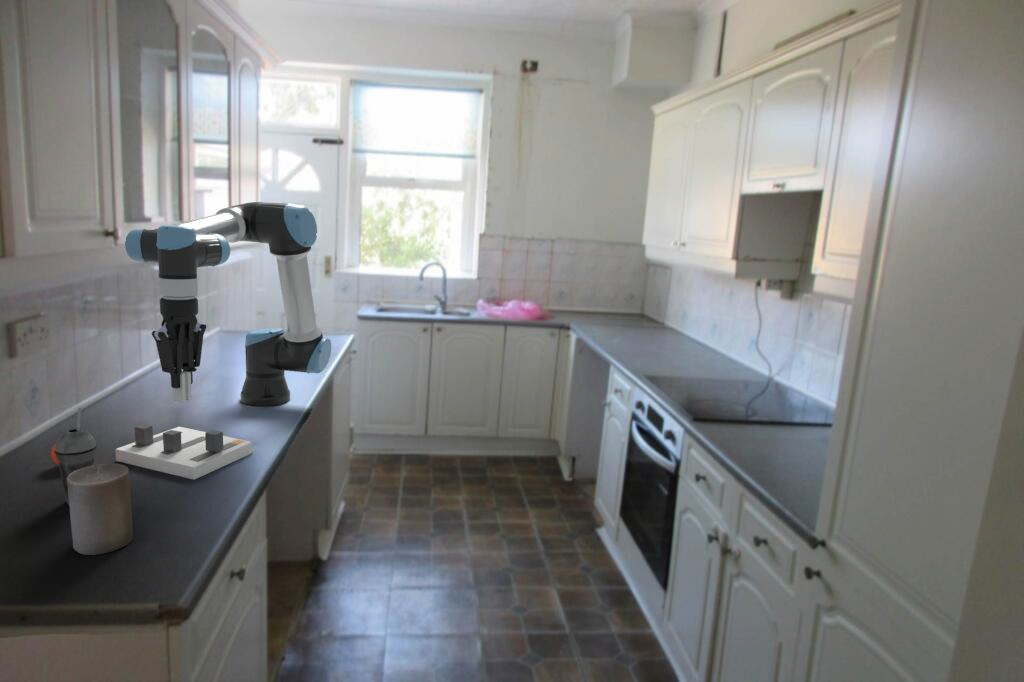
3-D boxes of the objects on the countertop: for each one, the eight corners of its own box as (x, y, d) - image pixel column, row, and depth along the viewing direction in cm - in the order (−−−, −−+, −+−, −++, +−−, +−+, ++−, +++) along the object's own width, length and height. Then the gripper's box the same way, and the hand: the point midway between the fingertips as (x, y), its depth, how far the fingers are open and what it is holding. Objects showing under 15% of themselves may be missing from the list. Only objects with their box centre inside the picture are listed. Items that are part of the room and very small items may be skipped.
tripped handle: (213, 447, 161) (213, 429, 160) (223, 449, 160) (222, 431, 159) (205, 450, 159) (205, 432, 158) (215, 452, 158) (215, 434, 157)
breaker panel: (179, 437, 176) (178, 410, 174) (252, 453, 168) (251, 424, 166) (116, 460, 158) (114, 430, 156) (194, 479, 150) (192, 448, 149)
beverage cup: (52, 500, 136) (45, 408, 132) (92, 490, 142) (86, 401, 138) (66, 511, 132) (59, 417, 128) (105, 500, 138) (100, 409, 134)
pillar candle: (142, 529, 127) (137, 456, 124) (120, 555, 118) (114, 476, 115) (87, 530, 126) (81, 456, 123) (61, 556, 116) (54, 477, 113)
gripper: (190, 292, 151) (194, 390, 156) (138, 298, 138) (143, 405, 143) (216, 295, 149) (219, 395, 153) (165, 302, 136) (170, 411, 140)
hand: (182, 400), depth 148 cm, fingers closed
